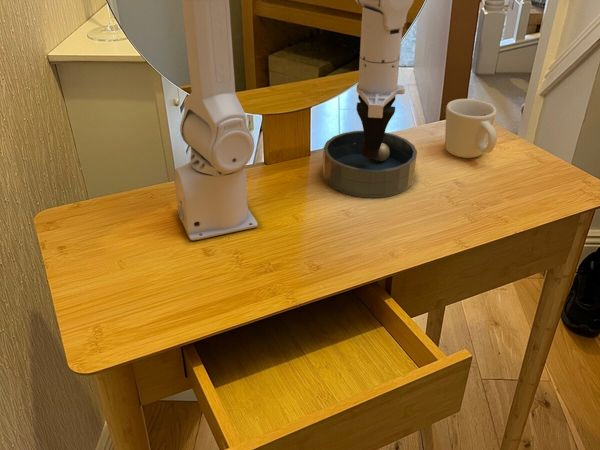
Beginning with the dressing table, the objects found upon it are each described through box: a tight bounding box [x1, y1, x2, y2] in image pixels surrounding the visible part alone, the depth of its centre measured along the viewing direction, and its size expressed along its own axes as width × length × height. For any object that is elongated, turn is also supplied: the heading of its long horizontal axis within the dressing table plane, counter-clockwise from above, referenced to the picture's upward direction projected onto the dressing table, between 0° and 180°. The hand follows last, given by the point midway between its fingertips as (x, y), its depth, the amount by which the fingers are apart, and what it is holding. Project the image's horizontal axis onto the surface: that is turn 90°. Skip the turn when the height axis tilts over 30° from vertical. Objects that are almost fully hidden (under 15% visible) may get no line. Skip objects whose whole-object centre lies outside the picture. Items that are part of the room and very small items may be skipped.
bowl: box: [322, 130, 418, 199], centre depth 97 cm, size 14×14×4 cm
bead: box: [375, 143, 390, 162], centre depth 101 cm, size 3×3×3 cm
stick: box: [362, 139, 379, 159], centre depth 96 cm, size 3×3×8 cm
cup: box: [444, 98, 498, 159], centre depth 102 cm, size 11×8×8 cm
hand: (373, 143), depth 97 cm, fingers closed on stick, 2 cm apart
